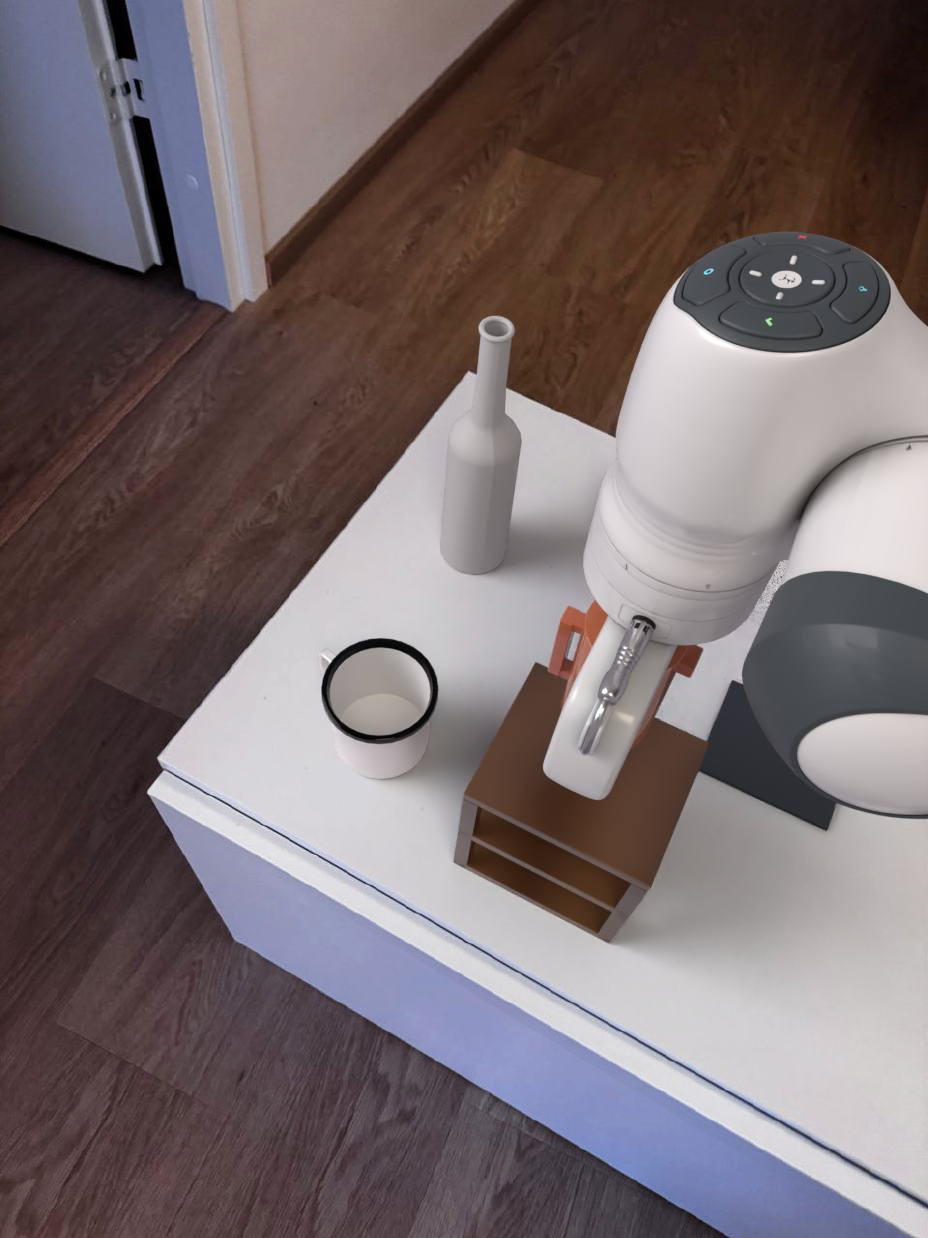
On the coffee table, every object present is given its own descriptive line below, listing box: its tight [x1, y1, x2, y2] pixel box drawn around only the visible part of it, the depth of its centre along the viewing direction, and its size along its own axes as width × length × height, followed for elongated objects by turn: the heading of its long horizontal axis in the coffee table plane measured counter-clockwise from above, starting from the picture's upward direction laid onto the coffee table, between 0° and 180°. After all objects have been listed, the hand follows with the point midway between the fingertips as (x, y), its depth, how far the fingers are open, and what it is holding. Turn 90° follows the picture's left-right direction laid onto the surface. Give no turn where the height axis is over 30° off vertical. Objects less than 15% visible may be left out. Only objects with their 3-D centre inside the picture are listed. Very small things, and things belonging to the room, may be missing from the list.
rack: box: [452, 661, 709, 944], centre depth 75 cm, size 14×12×15 cm
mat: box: [698, 679, 837, 832], centre depth 87 cm, size 12×10×1 cm
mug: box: [318, 637, 440, 780], centre depth 82 cm, size 12×10×9 cm
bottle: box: [439, 315, 523, 575], centre depth 85 cm, size 7×7×28 cm
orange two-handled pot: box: [547, 599, 704, 749], centre depth 58 cm, size 8×6×10 cm
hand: (624, 687), depth 59 cm, fingers closed on orange two-handled pot, 6 cm apart
